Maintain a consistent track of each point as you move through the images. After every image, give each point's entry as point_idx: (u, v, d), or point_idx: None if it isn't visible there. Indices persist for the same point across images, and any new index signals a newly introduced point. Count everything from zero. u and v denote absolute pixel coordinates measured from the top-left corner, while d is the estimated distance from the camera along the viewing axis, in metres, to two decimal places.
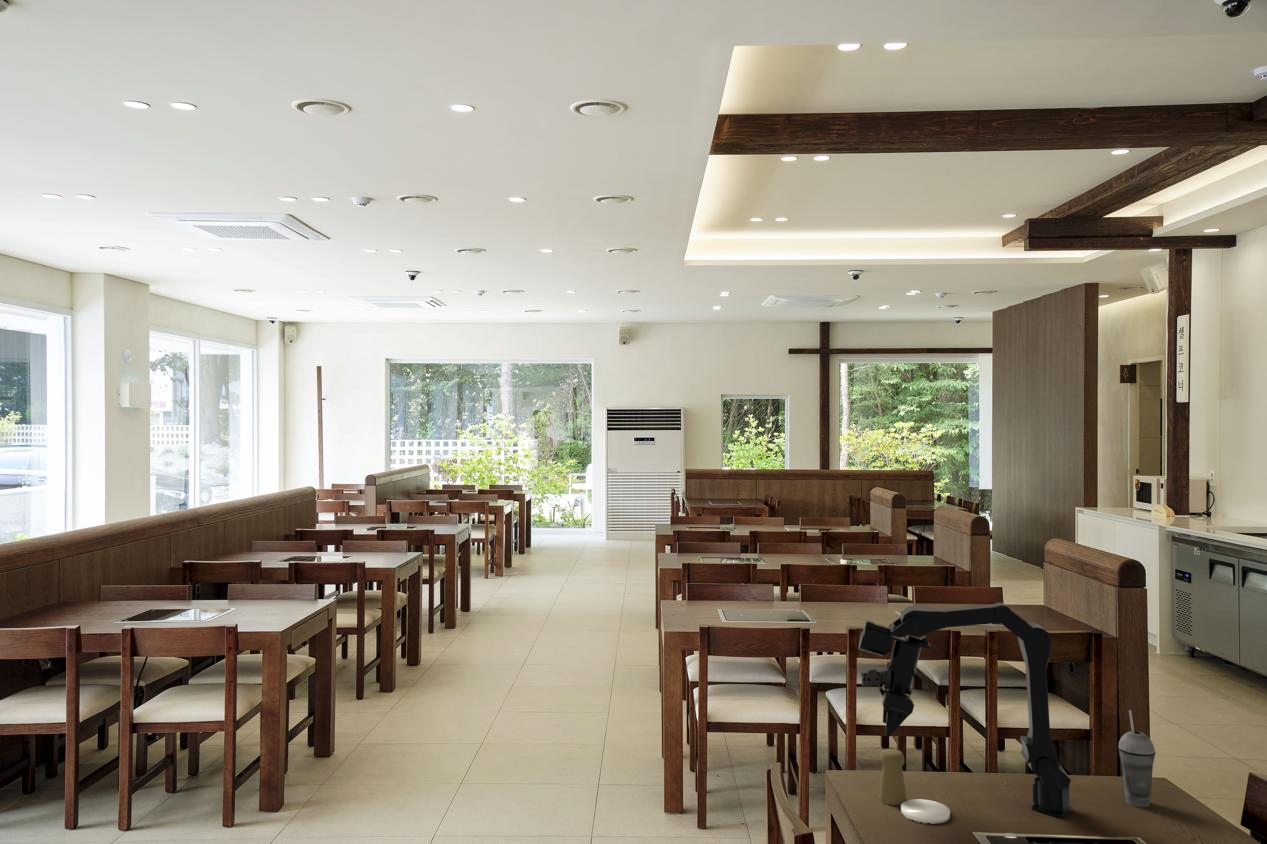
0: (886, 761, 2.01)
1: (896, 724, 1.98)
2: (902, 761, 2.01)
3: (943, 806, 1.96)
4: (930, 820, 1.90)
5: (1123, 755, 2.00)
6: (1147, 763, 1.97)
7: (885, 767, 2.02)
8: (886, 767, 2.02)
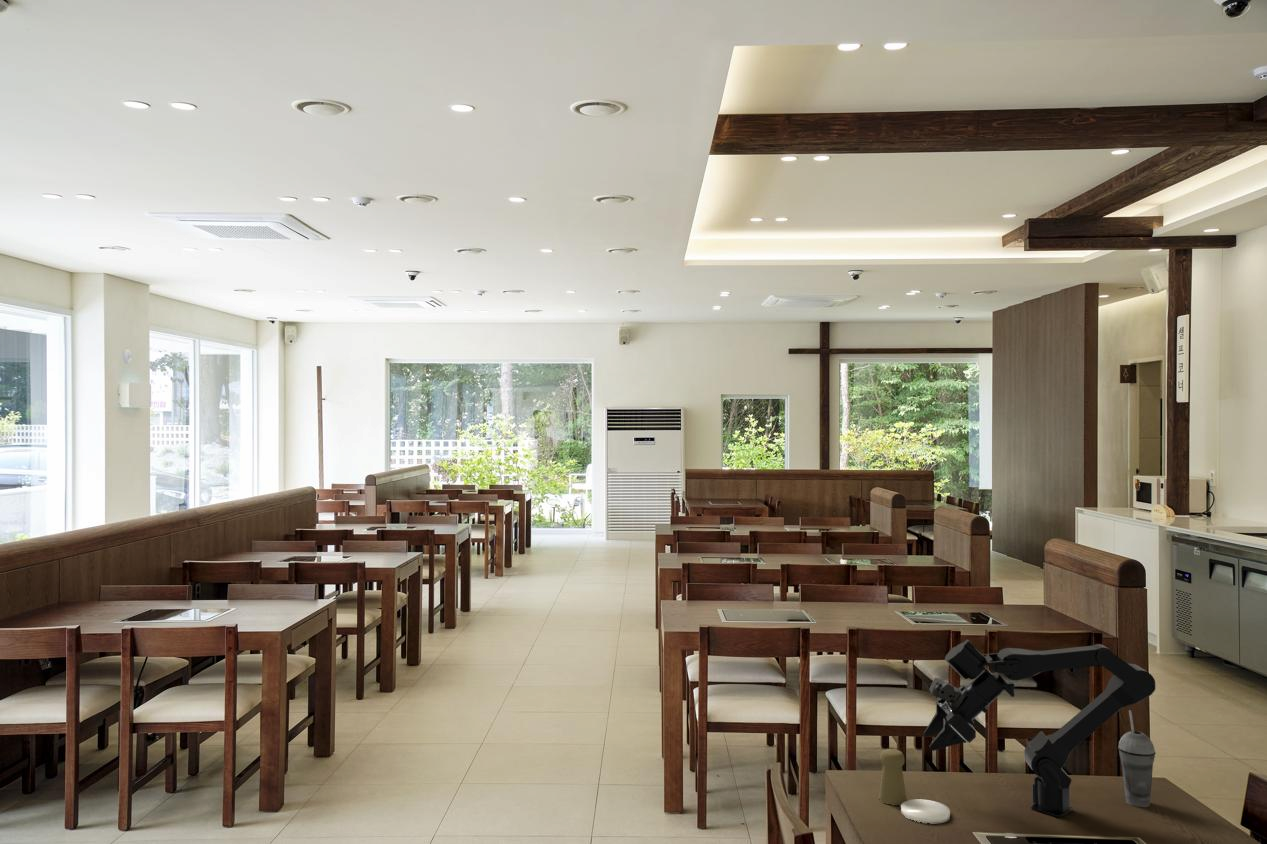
0: (887, 761, 2.01)
1: (946, 743, 1.96)
2: (902, 761, 2.01)
3: (943, 806, 1.96)
4: (930, 820, 1.90)
5: (1123, 755, 2.00)
6: (1147, 763, 1.97)
7: (885, 767, 2.02)
8: (886, 767, 2.02)
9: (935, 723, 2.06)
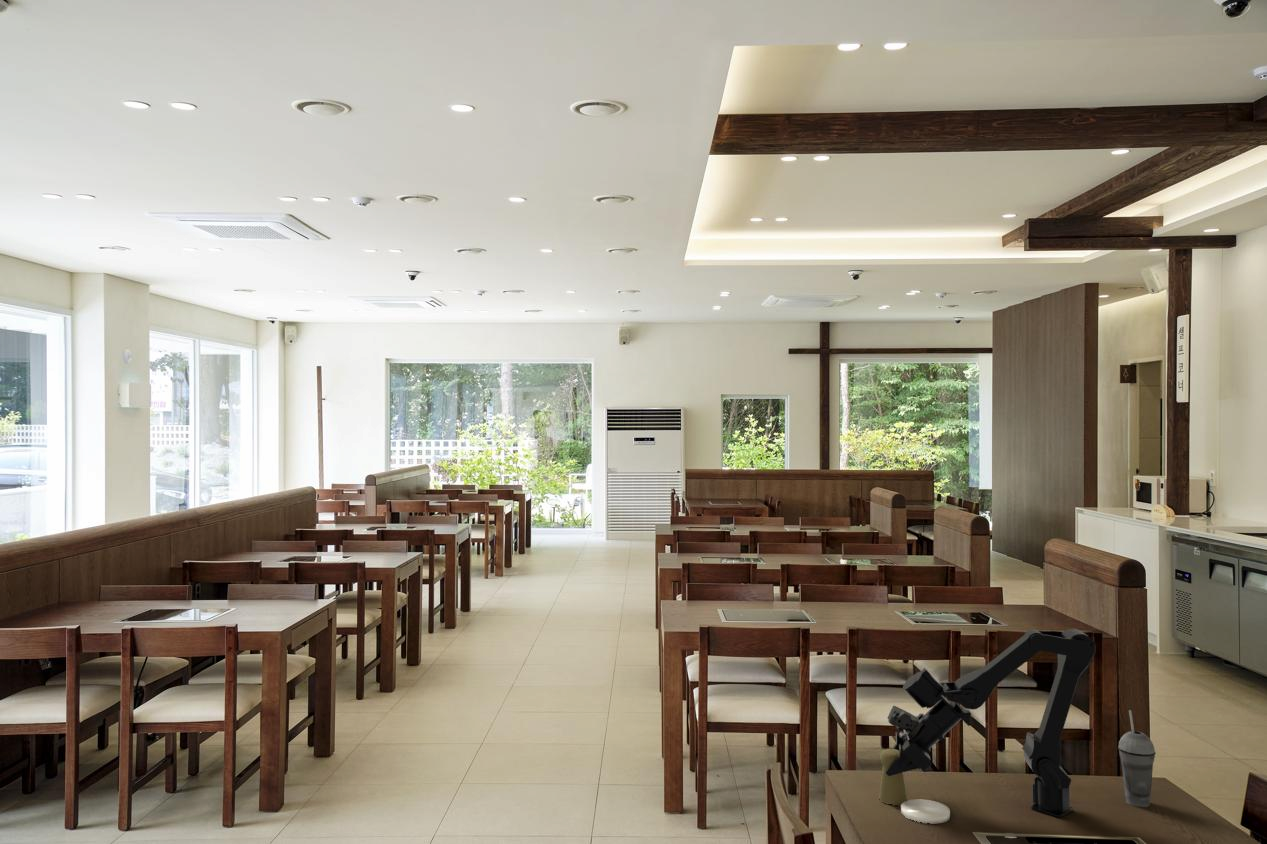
0: (886, 761, 2.01)
1: (901, 769, 1.99)
2: None
3: (943, 806, 1.96)
4: (930, 820, 1.90)
5: (1123, 755, 2.00)
6: (1147, 763, 1.97)
7: (885, 767, 2.02)
8: (886, 767, 2.02)
9: None
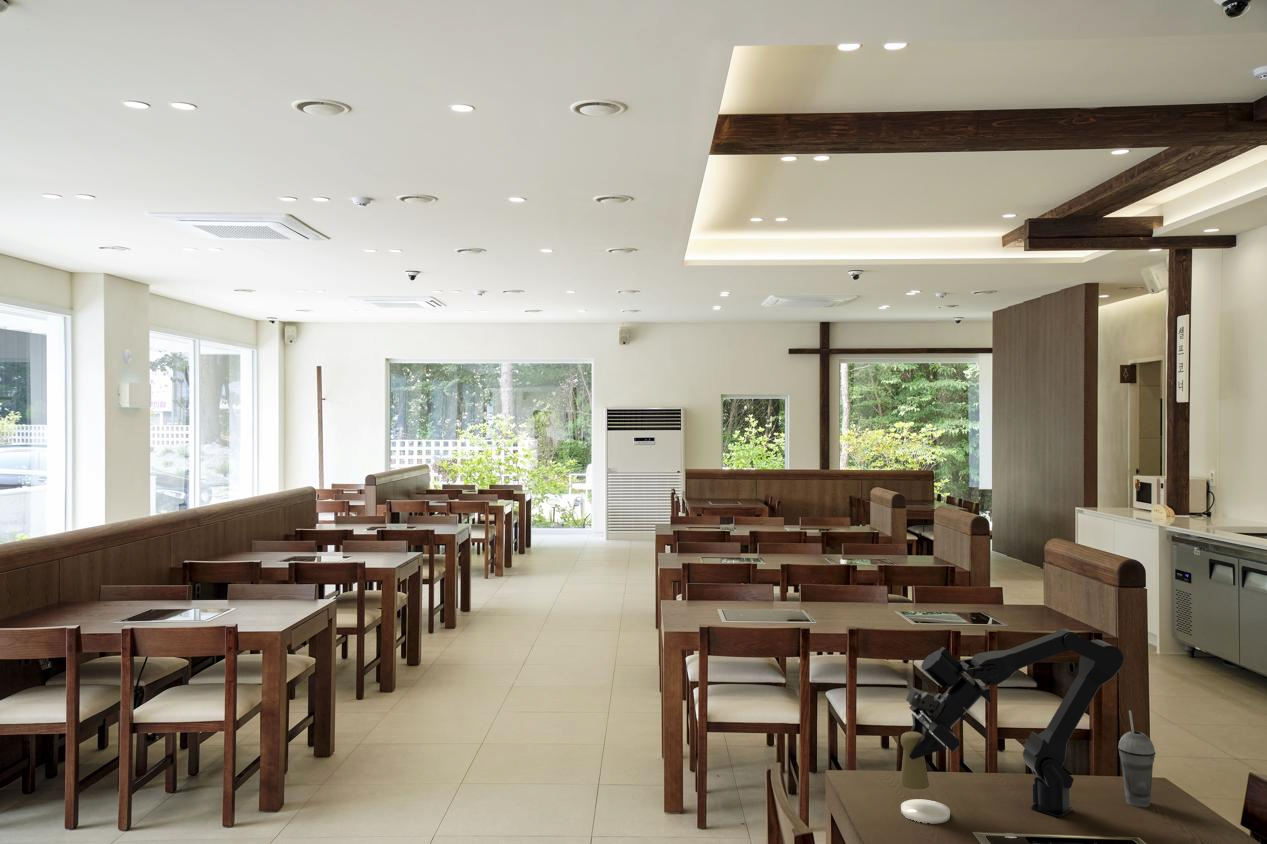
0: (909, 745, 1.96)
1: (926, 751, 1.94)
2: None
3: (943, 806, 1.96)
4: (930, 820, 1.90)
5: (1123, 755, 2.00)
6: (1147, 763, 1.97)
7: (907, 751, 1.97)
8: (908, 750, 1.97)
9: None
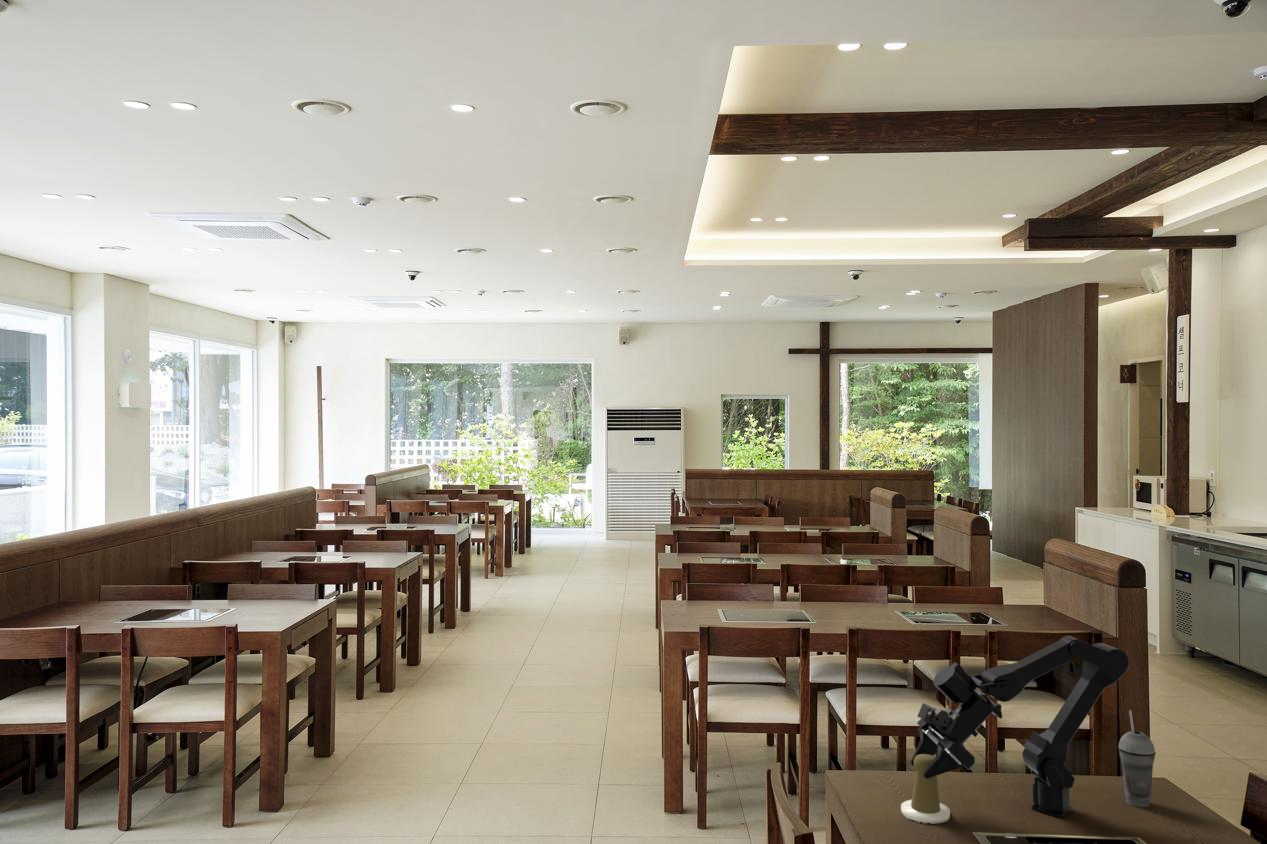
0: (924, 767, 1.94)
1: (941, 770, 1.91)
2: None
3: (943, 806, 1.96)
4: (930, 820, 1.90)
5: (1123, 755, 2.00)
6: (1147, 763, 1.97)
7: (921, 773, 1.94)
8: (922, 773, 1.94)
9: (921, 751, 2.00)
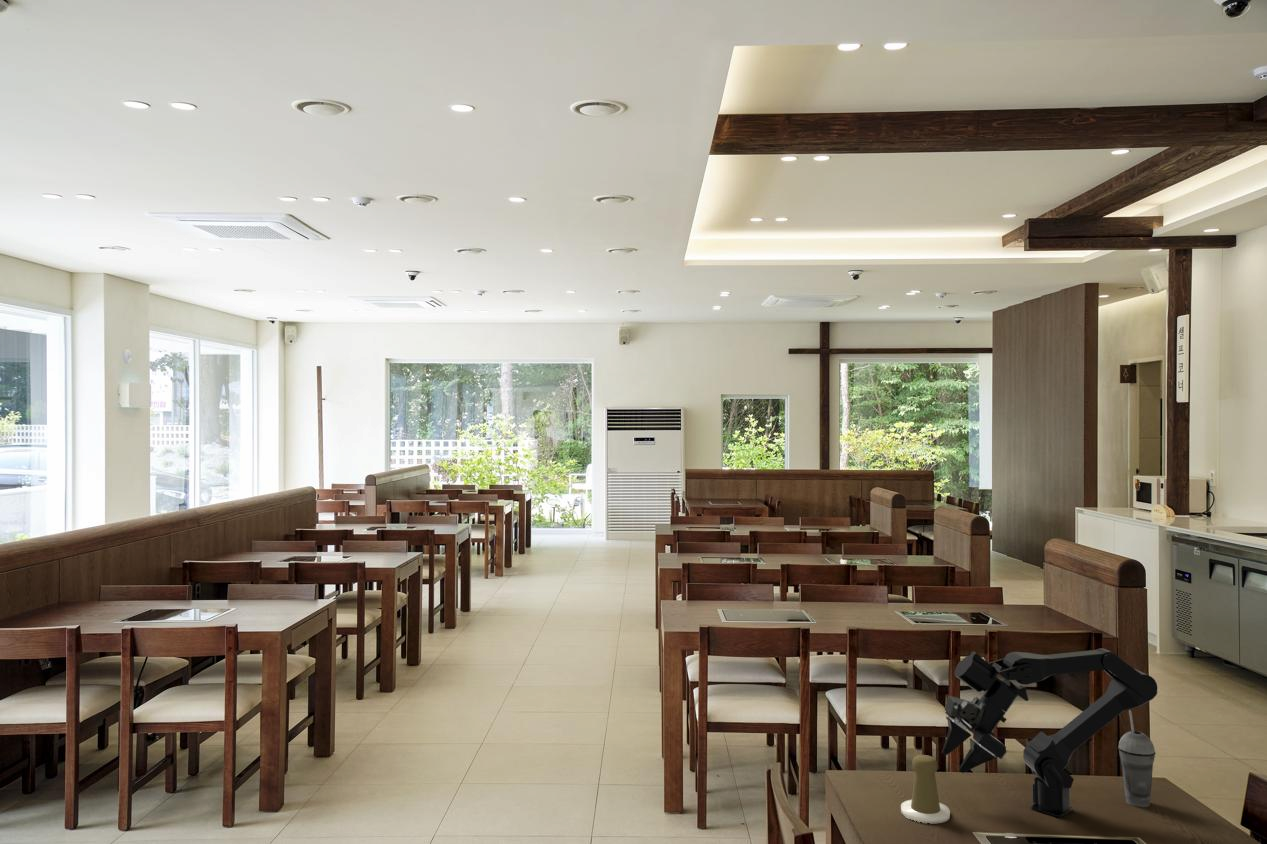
0: (922, 769, 1.93)
1: (976, 763, 1.92)
2: (936, 767, 1.94)
3: (943, 806, 1.96)
4: (930, 820, 1.90)
5: (1123, 755, 2.00)
6: (1147, 763, 1.97)
7: (919, 774, 1.94)
8: (920, 774, 1.94)
9: (951, 740, 2.03)
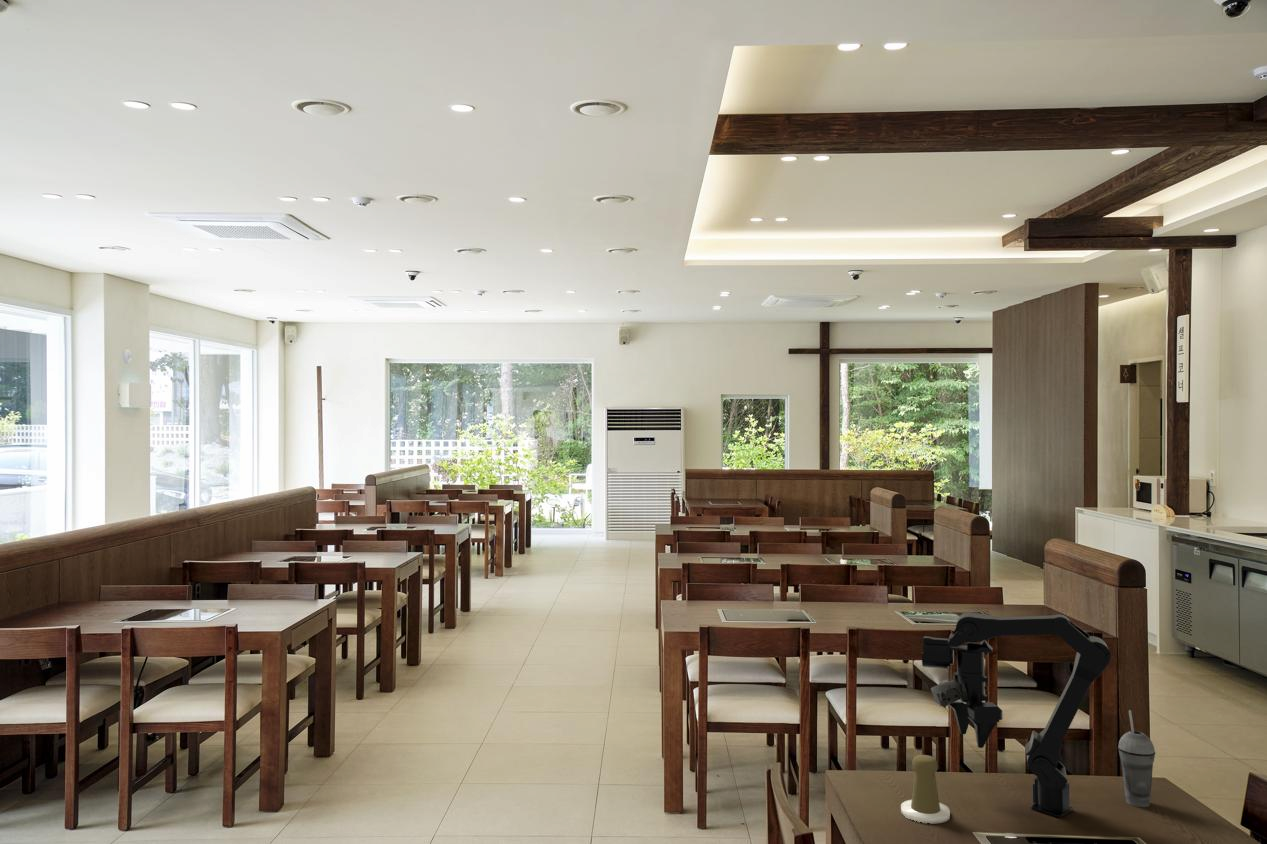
0: (922, 768, 1.93)
1: (986, 733, 1.98)
2: (937, 767, 1.94)
3: (943, 806, 1.96)
4: (930, 820, 1.90)
5: (1123, 755, 2.00)
6: (1147, 763, 1.97)
7: (919, 774, 1.94)
8: (920, 774, 1.94)
9: (961, 718, 2.08)
